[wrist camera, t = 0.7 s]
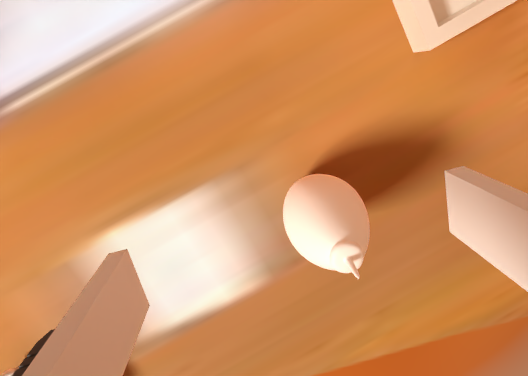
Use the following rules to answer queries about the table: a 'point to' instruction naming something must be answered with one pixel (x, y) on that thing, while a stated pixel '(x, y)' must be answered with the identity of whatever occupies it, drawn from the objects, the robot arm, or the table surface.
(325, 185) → the beige teardrop shape
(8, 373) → the chubby cartoon animal
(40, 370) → the robot arm
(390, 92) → the table surface
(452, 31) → the tray
